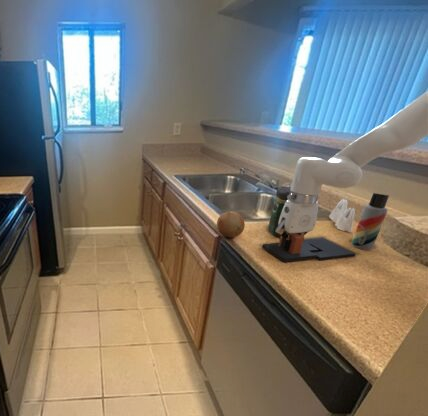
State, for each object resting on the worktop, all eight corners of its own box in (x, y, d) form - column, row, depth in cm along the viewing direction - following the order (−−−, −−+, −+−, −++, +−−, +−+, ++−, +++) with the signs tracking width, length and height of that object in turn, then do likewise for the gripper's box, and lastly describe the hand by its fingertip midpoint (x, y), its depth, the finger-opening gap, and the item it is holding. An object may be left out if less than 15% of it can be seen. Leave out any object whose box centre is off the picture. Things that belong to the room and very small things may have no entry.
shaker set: (326, 220, 120) (334, 196, 116) (338, 221, 119) (346, 196, 115) (339, 231, 109) (348, 205, 105) (352, 232, 108) (361, 206, 104)
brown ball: (230, 244, 100) (234, 219, 97) (209, 233, 109) (212, 210, 105) (248, 238, 104) (253, 214, 101) (227, 228, 113) (231, 206, 109)
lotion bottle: (349, 246, 98) (368, 193, 91) (352, 241, 101) (370, 189, 94) (371, 252, 94) (392, 197, 87) (373, 246, 97) (394, 193, 90)
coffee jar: (295, 240, 103) (307, 193, 96) (271, 237, 105) (282, 191, 98) (287, 229, 111) (298, 185, 105) (265, 227, 114) (275, 184, 107)
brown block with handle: (300, 243, 100) (305, 225, 97) (326, 257, 91) (332, 237, 88) (261, 247, 97) (266, 228, 95) (284, 262, 88) (289, 242, 86)
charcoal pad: (321, 240, 103) (322, 237, 102) (354, 256, 92) (355, 253, 91) (289, 243, 100) (290, 240, 100) (319, 260, 89) (320, 257, 89)
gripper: (289, 203, 82) (276, 256, 88) (336, 199, 84) (319, 251, 91) (271, 195, 89) (259, 245, 95) (314, 192, 91) (300, 241, 98)
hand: (289, 247), depth 93 cm, fingers closed on brown block with handle, 3 cm apart
